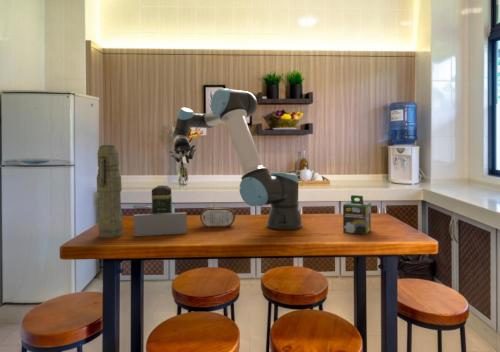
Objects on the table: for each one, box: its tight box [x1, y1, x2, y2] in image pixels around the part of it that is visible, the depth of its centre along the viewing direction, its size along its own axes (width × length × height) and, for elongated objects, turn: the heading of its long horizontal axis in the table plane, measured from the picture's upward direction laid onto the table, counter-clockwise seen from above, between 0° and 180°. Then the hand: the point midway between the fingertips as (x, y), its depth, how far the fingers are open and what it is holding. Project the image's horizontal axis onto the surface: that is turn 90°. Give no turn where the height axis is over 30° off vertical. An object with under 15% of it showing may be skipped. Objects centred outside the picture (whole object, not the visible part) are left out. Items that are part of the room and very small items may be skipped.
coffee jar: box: [151, 185, 173, 214], centre depth 146 cm, size 10×8×19 cm
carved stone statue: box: [96, 144, 124, 239], centre depth 138 cm, size 9×12×35 cm
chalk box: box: [342, 194, 372, 236], centre depth 143 cm, size 9×9×15 cm
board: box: [133, 211, 188, 237], centre depth 141 cm, size 3×20×8 cm, turn 103°
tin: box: [199, 206, 236, 228], centre depth 154 cm, size 15×3×8 cm, turn 92°
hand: (185, 165), depth 162 cm, fingers closed
